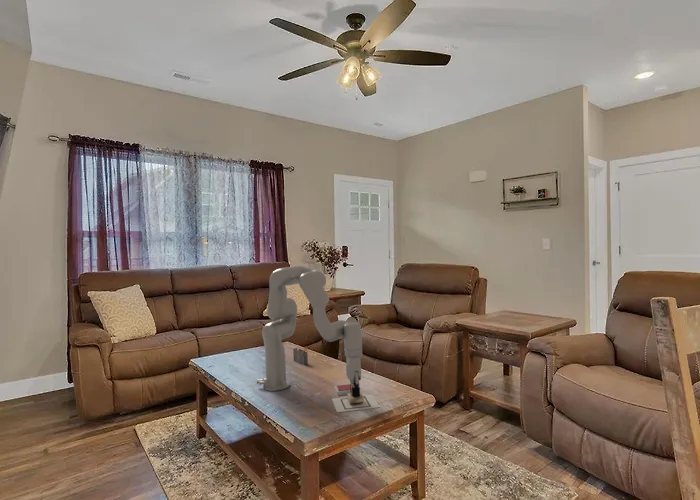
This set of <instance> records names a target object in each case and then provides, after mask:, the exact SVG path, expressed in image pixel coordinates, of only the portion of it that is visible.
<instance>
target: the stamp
mask: <svg viewBox="0 0 700 500" xmlns="http://www.w3.org/2000/svg"><path fill="white" fill-rule="evenodd" d="M354 380H355V379H354ZM354 383H355V382H354ZM350 384H351V393H347V394H346V397H347V398H348V401H349V403H350V405H351V404H361V403H363V402H364V397H363V393H362V392H361V391H360V396H359V397H353V396H352V387H353V384H352V381H351V383H350Z"/></svg>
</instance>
